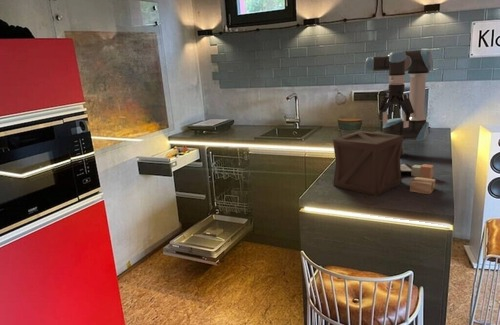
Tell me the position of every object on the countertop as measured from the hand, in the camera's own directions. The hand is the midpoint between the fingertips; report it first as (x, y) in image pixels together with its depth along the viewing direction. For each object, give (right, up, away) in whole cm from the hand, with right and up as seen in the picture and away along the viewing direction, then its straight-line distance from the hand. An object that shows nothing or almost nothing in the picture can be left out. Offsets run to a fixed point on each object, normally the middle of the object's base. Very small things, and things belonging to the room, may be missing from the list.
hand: (395, 125), depth 196 cm
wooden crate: (-14, -30, +2) cm, 33 cm away
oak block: (+9, -33, -11) cm, 36 cm away
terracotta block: (+18, -27, +4) cm, 33 cm away
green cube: (+16, -26, +10) cm, 32 cm away
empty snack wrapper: (+2, -23, +24) cm, 33 cm away
